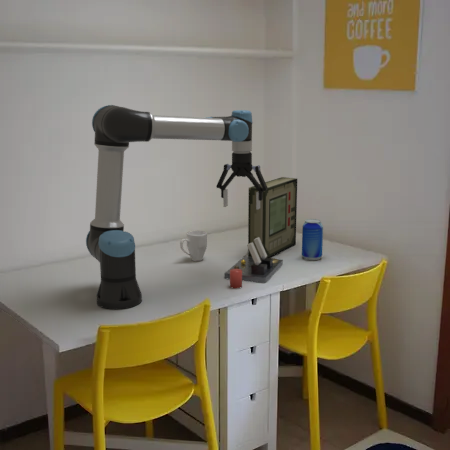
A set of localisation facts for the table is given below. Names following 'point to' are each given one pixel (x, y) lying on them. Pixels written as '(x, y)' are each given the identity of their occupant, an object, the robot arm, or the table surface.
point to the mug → (195, 244)
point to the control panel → (274, 216)
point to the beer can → (312, 239)
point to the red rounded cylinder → (236, 278)
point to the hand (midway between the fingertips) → (241, 207)
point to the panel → (254, 276)
